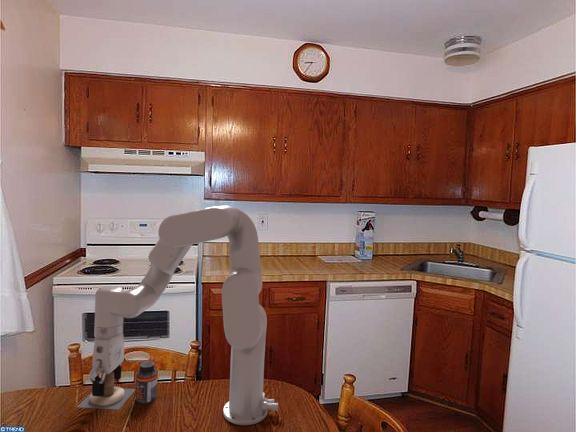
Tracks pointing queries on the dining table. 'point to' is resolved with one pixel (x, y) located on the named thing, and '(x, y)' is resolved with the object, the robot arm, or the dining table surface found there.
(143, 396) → the supplement bottle
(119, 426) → the dining table surface
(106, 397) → the lid
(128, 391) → the mat
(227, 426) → the dining table surface
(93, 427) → the dining table surface
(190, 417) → the dining table surface
